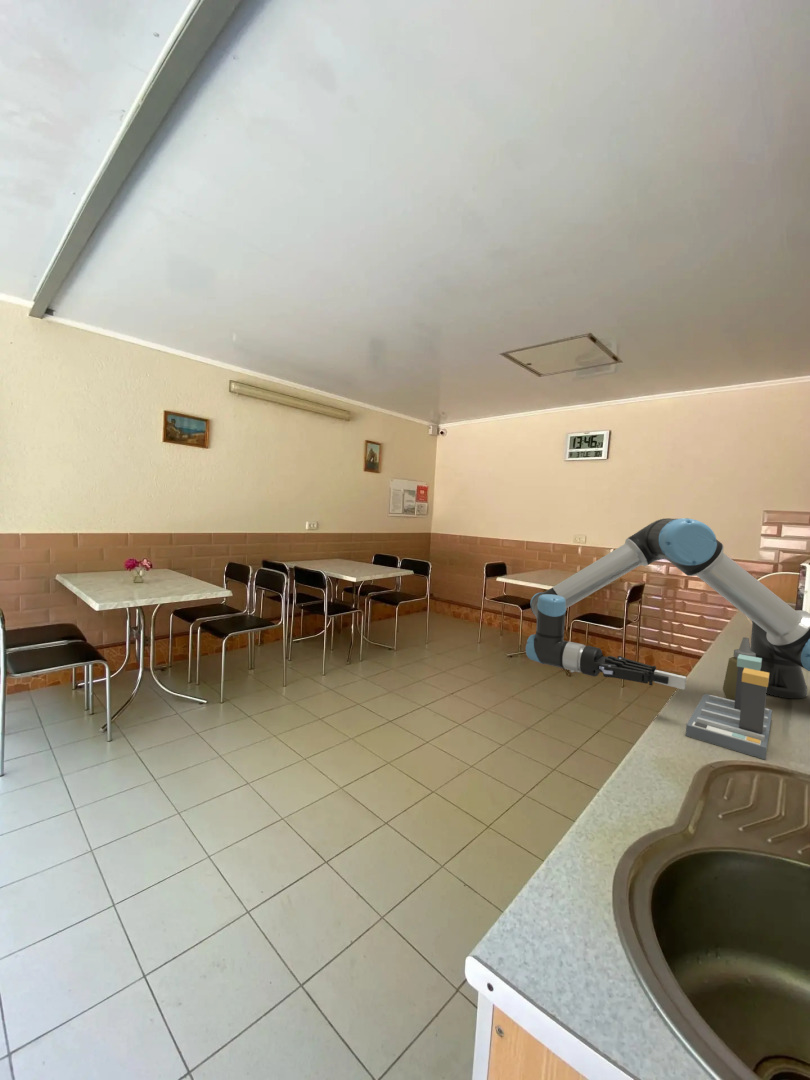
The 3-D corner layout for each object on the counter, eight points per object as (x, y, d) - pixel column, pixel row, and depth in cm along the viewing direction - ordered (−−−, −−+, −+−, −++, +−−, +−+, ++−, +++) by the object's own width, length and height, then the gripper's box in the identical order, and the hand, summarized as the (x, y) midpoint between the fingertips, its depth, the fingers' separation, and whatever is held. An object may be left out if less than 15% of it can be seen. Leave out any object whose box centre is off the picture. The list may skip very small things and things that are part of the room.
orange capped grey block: (739, 724, 102) (744, 667, 102) (764, 731, 100) (769, 672, 99) (737, 730, 99) (742, 672, 98) (763, 738, 96) (768, 677, 95)
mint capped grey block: (734, 705, 113) (739, 654, 112) (757, 711, 110) (761, 658, 109) (733, 711, 109) (737, 658, 109) (756, 717, 107) (760, 662, 106)
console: (703, 702, 121) (704, 689, 120) (771, 719, 112) (772, 705, 111) (685, 735, 102) (686, 720, 102) (765, 759, 93) (766, 743, 92)
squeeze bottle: (754, 703, 122) (760, 636, 120) (763, 714, 114) (769, 644, 113) (718, 696, 125) (723, 632, 124) (725, 708, 118) (730, 639, 117)
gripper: (591, 667, 128) (689, 691, 112) (573, 679, 118) (678, 707, 102) (592, 640, 127) (691, 661, 112) (575, 650, 117) (681, 674, 102)
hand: (685, 683), depth 107 cm, fingers closed
